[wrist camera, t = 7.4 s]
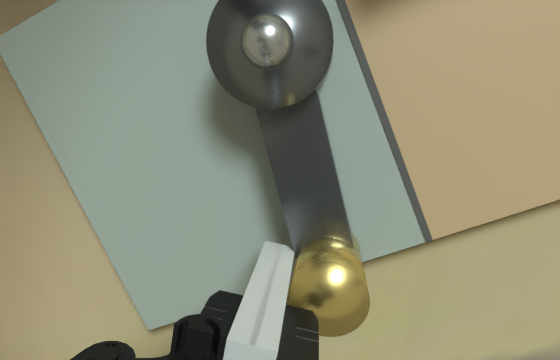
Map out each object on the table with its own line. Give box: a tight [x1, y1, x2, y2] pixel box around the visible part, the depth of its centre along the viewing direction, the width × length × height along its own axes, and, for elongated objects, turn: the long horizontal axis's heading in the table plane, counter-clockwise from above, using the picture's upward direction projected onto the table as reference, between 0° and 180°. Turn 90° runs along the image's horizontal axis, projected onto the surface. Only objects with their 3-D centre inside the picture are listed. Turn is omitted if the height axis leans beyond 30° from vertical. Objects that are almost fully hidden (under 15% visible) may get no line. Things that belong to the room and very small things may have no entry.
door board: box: [0, 0, 560, 330], centre depth 16 cm, size 16×24×1 cm, turn 113°
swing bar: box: [206, 0, 370, 337], centre depth 13 cm, size 13×4×4 cm, turn 15°
